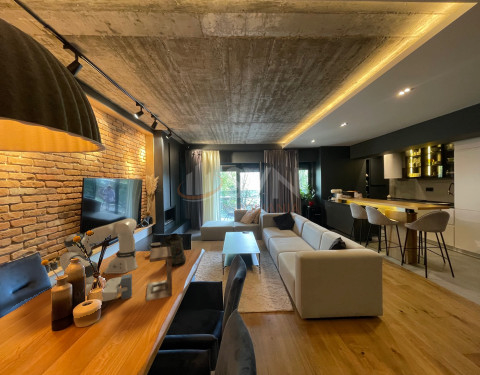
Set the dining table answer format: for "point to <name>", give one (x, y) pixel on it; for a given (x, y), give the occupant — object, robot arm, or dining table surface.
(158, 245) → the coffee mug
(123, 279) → the grey upright block
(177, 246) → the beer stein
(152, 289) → the overhang shelf
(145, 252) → the dining table surface
